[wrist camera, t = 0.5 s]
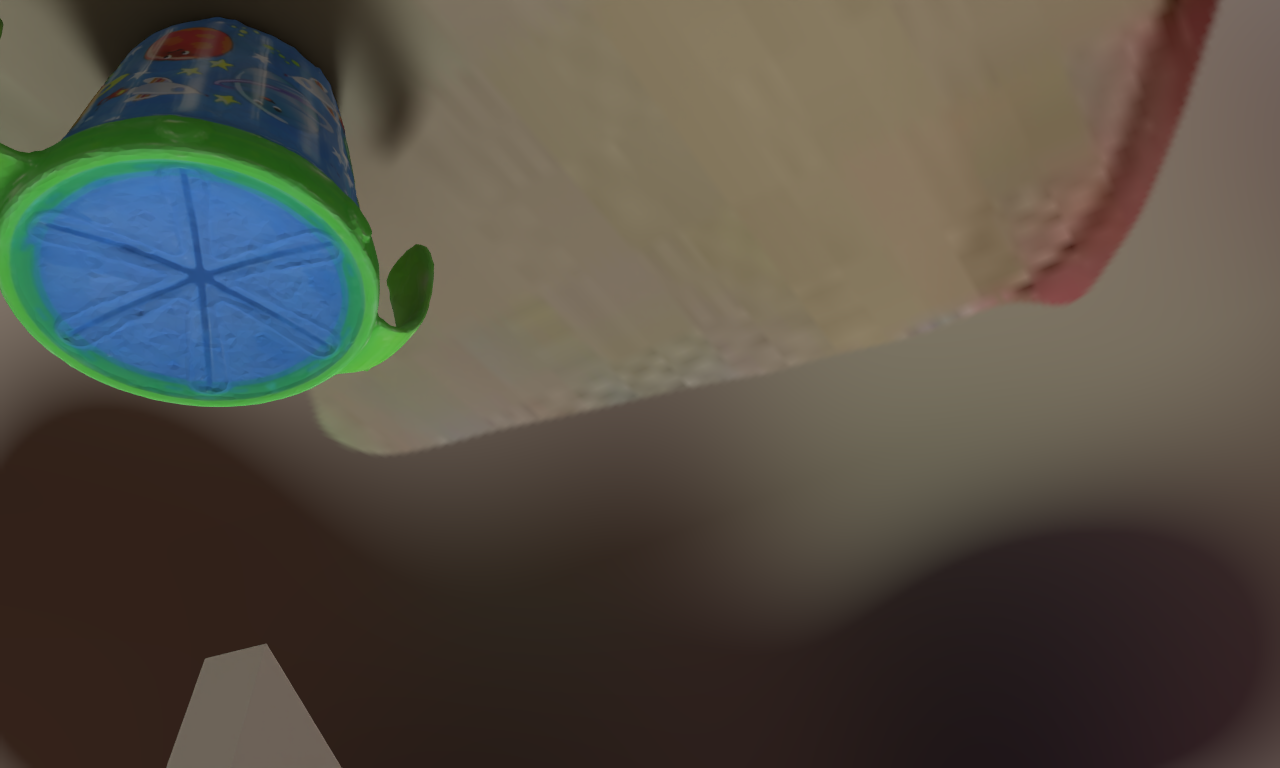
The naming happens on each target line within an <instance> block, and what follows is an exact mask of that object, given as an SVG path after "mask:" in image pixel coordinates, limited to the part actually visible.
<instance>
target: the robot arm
mask: <svg viewBox="0 0 1280 768" xmlns="http://www.w3.org/2000/svg"><path fill="white" fill-rule="evenodd" d="M167 768H341V767H340V765H339V763H338V761H337V760H336V758H335V757H334V755H333V753H332V751H331V750H330V748H329V746H328V745H327V743H326V741H325V740H324V739H323V737H322V735H321V733H320V732H319V730H318V728H317V727H316V725H315V723H314V722H313V720H312V718H311V717H310V715H309V714H308V712H307V710H306V709H305V707H304V705H303V704H302V702H301V700H300V699H299V697H298V696H297V694H296V692H295V690H294V689H293V687H292V686H291V684H290V682H289V680H288V679H287V677H286V675H285V674H284V672H283V671H282V669H281V667H280V666H279V664H278V662H277V661H276V659H275V657H274V656H273V654H272V653H271V651H270V649H269V647H268V646H267V644H263V645H259V646H255V647H251V648H247V649H243V650H239V651H235V652H230V653H226V654H222V655H218V656H214V657H210V658H206V659H205V661H204V664H203V666H202V669H201V672H200V675H199V678H198V680H197V683H196V686H195V689H194V692H193V694H192V697H191V700H190V703H189V706H188V709H187V711H186V714H185V717H184V720H183V723H182V725H181V728H180V731H179V734H178V737H177V740H176V742H175V745H174V748H173V751H172V754H171V756H170V759H169V762H168V765H167Z"/></svg>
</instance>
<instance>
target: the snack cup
mask: <svg viewBox="0 0 1280 768" xmlns="http://www.w3.org/2000/svg"><path fill="white" fill-rule="evenodd" d="M2 29H3V22H2V20H1V19H0V38H1V35H2ZM371 234H372V230H371V228H370V226H369V223H368V222H367V220H366V218H365V217H364V215H363V214H362V212H361V211H360V207H359V202H358V199H357V197H356V190H355V181H354V175H353V170H352V165H351V160H350V155H349V150H348V145H347V141H346V137H345V129H344V126H343V123H342V119H341V116H340V112H339V109H338V106H337V103H336V100H335V98H334V96H333V92H332V89H331V85H330V83H329V82H328V80H327V79H326V77H325V76H324V74H323V73H322V71H321V69H320V68H317V67H315V66H314V65H313V64H312V63H310V62H309V61H308V60H307V59H305V58H304V57H303V56H302V55H301V54H300V53H299V52H298V51H297V50H296V48H294V47H292V46H290V45H288V44H286V43H284V42H282V41H281V40H279V39H277V38H276V37H274V36H272V35H269V34H266V33H263V32H261V31H259V30H257V29H254V28H251V27H248V26H245V25H244V24H242V23H240V22H239V21H237V20H229V19H225V18H221V17H214V18H209V19H203V20H198V21H191V22H186V23H181V24H177V25H173V26H170V27H168V28H165V29H163V30H160V31H158V32H155V33H154V34H152V35H151V36H149V37H148V38H146V39H145V40H144V41H142V42H141V43H140V44H138V45H137V46H136V47H135V48H134V49H132V50H131V52H130V53H129V54H128V55H127V56H126V58H125V59H124V60H123V61H122V62H121V64H120V65H119V67H118V68H117V70H116V71H115V72H113V73H112V75H111V76H110V77H109V78H108V80H107V81H106V82H105V84H104V86H102V87H101V89H100V90H99V91H98V92H97V94H96V95H95V96H94V98H93V99H92V100H91V102H90V103H89V104H88V106H87V107H86V109H85V110H84V111H83V113H82V114H81V116H80V117H79V118H78V120H77V121H76V122H75V124H74V125H73V126H72V128H71V129H70V130H69V132H68V133H67V135H66V136H65V137H64V138H63V139H62V140H61V141H60V142H58V143H57V144H55V145H53V146H51V147H49V148H47V149H45V150H43V151H34V152H31V153H25V152H19V151H16V150H13V149H11V148H9V147H7V146H5V145H3V144H1V143H0V290H1V293H2V295H3V297H4V298H5V300H6V302H7V304H8V305H9V307H10V308H11V310H12V311H13V313H14V315H15V316H16V318H17V319H18V320H19V321H20V322H21V323H22V325H23V326H24V327H25V328H26V330H27V331H28V332H29V333H30V334H31V335H32V336H33V337H34V338H35V339H36V340H37V341H38V342H39V343H41V344H42V345H43V346H44V347H45V348H46V349H48V350H49V351H50V352H51V353H53V354H54V355H56V356H57V357H59V358H60V359H62V360H63V361H64V362H66V363H67V364H68V365H70V366H71V367H73V368H75V369H77V370H78V371H80V372H82V373H84V374H86V375H87V376H89V377H91V378H93V379H96V380H98V381H100V382H102V383H104V384H107V385H109V386H112V387H114V388H117V389H120V390H123V391H126V392H129V393H132V394H135V395H139V396H143V397H146V398H149V399H153V400H159V401H165V402H170V403H177V404H184V405H193V406H206V407H230V406H245V405H253V404H261V403H266V402H270V401H275V400H279V399H283V398H286V397H290V396H293V395H296V394H299V393H302V392H304V391H306V390H309V389H311V388H313V387H315V386H317V385H319V384H320V383H322V382H324V381H326V380H328V379H329V378H331V377H332V376H334V375H336V374H342V373H351V372H358V371H363V370H364V371H368V370H369V369H371V368H372V367H374V366H376V365H378V364H380V363H382V362H383V361H385V360H386V359H388V358H389V357H390V356H392V355H393V354H394V353H395V352H396V351H397V350H399V349H400V348H401V347H402V346H403V345H404V344H405V343H406V342H407V340H408V339H409V338H410V337H411V336H412V335H413V334H414V333H415V332H416V331H417V329H418V328H419V326H420V325H421V323H422V322H423V320H424V318H425V316H426V313H427V311H428V308H429V302H430V298H431V295H432V288H433V279H434V263H433V260H432V257H431V253H430V252H429V250H428V249H427V247H425V246H422V245H419V244H416V245H414V246H413V247H412V248H410V249H409V250H407V251H406V252H405V254H404V255H403V256H402V257H401V258H400V259H399V260H398V261H397V262H396V264H395V265H394V266H393V268H392V270H391V271H390V273H389V275H388V278H387V286H388V288H389V291H390V301H391V305H392V309H393V312H394V318H395V323H396V327H394V326H390V325H389V324H388V323H386V322H385V321H384V320H383V319H381V318H380V317H379V316H378V313H377V310H378V305H379V292H380V282H379V280H380V279H379V263H378V259H377V255H376V251H375V247H374V244H373V240H372V237H371Z"/></svg>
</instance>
